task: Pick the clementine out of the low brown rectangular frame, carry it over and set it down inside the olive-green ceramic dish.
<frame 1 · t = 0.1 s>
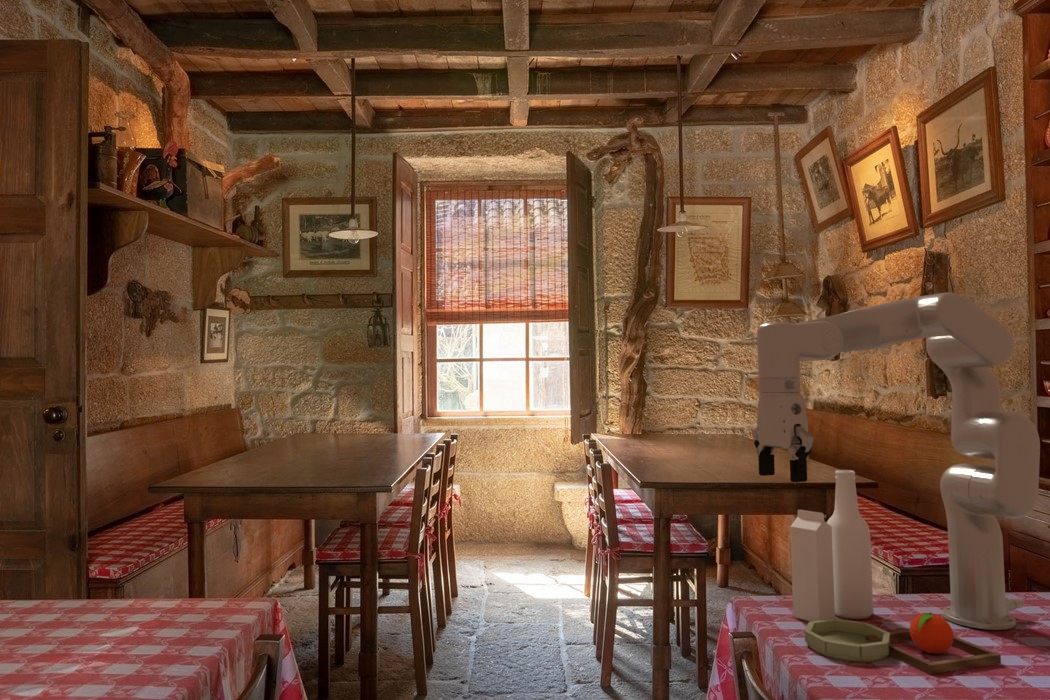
hand: (782, 478, 136), 31 cm above the table, tool pointing down, fingers open, 9 cm apart
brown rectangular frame: (930, 653, 130), on the table
alcohol: (850, 614, 152), on the table
clementine: (930, 654, 130), resting in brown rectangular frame
milk: (814, 618, 150), on the table
dish: (847, 647, 133), on the table
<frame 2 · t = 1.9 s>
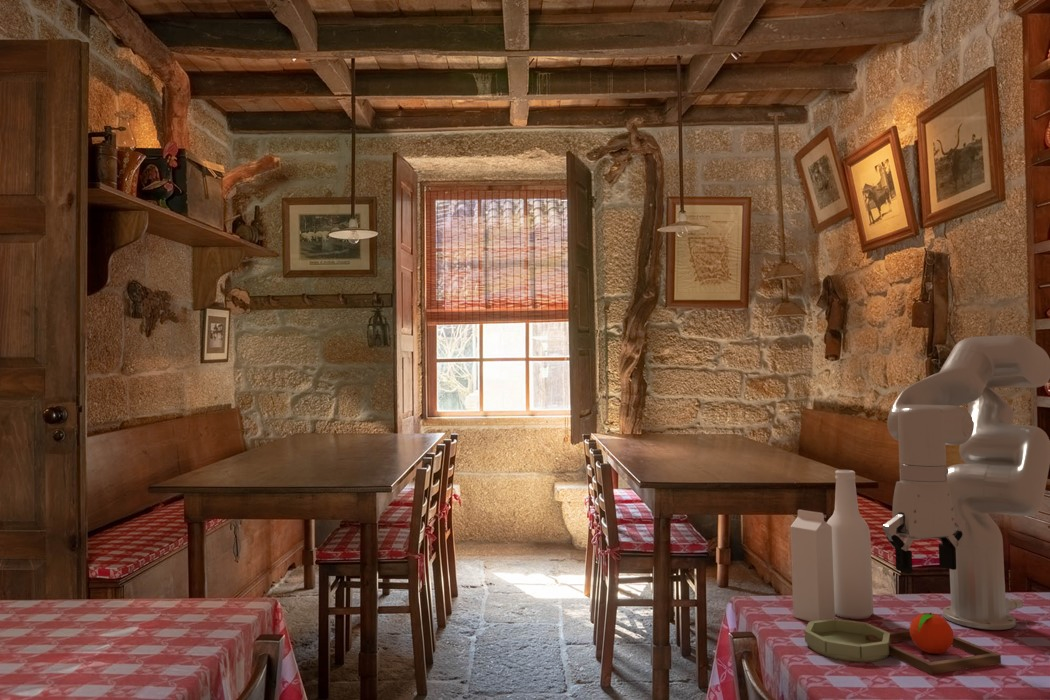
hand: (926, 569, 130), 15 cm above the table, tool pointing down, fingers open, 9 cm apart
nothing on the table moved.
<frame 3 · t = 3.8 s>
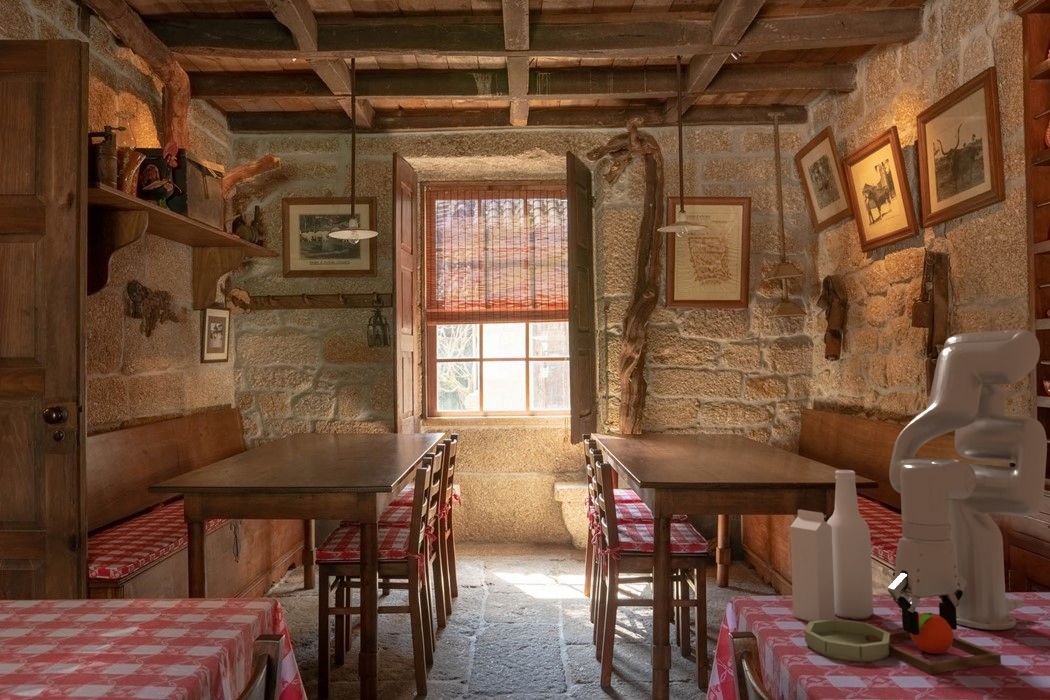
hand: (929, 629, 130), 4 cm above the table, tool pointing down, fingers closed on clementine, 7 cm apart
clementine: (930, 654, 129), resting in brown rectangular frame, touching gripper
everything else where it was.
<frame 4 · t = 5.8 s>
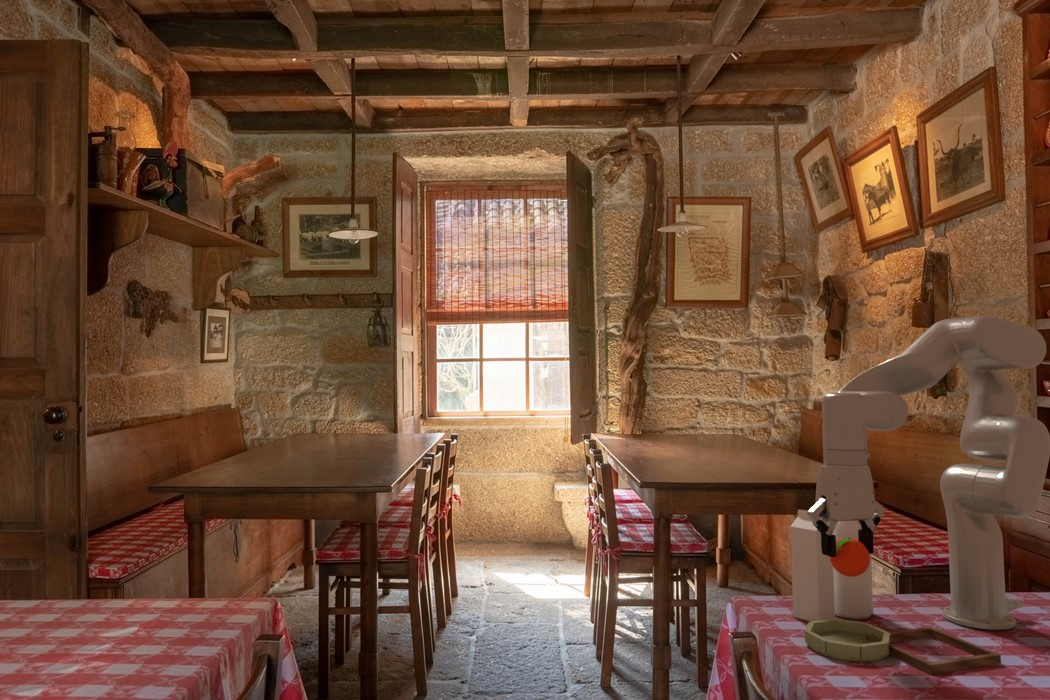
hand: (847, 553, 133), 17 cm above the table, tool pointing down, fingers closed on clementine, 7 cm apart
clementine: (848, 577, 133), point 13 cm above the table, touching gripper
everything else where it was.
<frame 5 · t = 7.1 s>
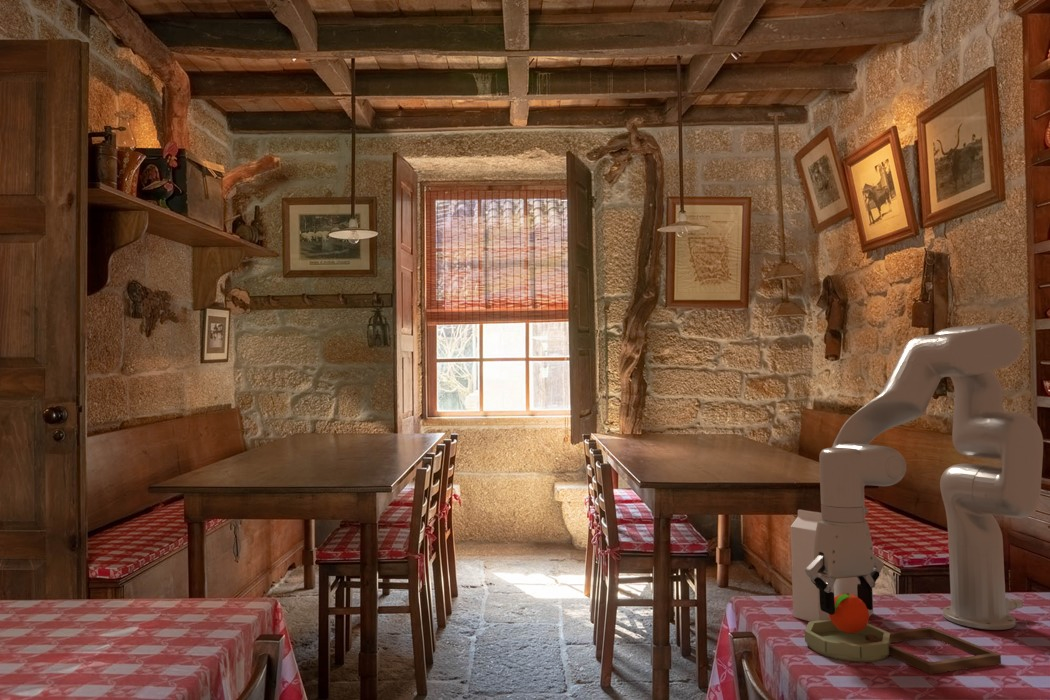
hand: (846, 609, 133), 7 cm above the table, tool pointing down, fingers closed on clementine, 7 cm apart
clementine: (847, 633, 133), point 2 cm above the table, touching gripper
everything else where it was.
when the fingers open (7 cm above the table, at t = 8.0 s): clementine drops 2 cm, resting on dish.
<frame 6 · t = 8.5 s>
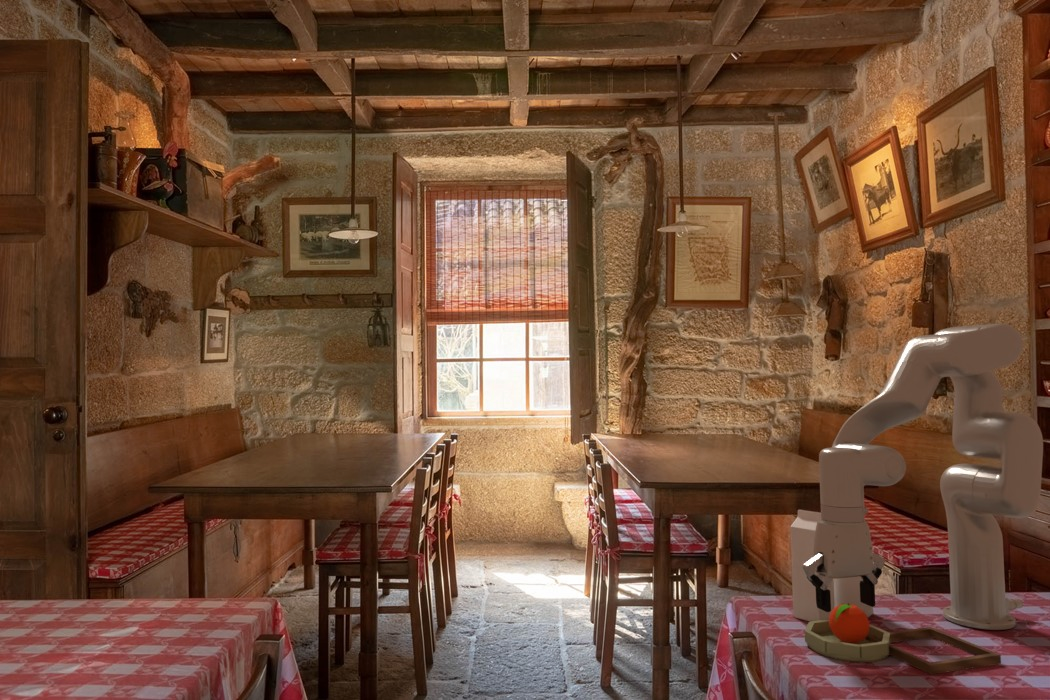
hand: (846, 607, 133), 7 cm above the table, tool pointing down, fingers open, 9 cm apart
clementine: (848, 644, 133), point 1 cm above the table, touching dish
everything else where it was.
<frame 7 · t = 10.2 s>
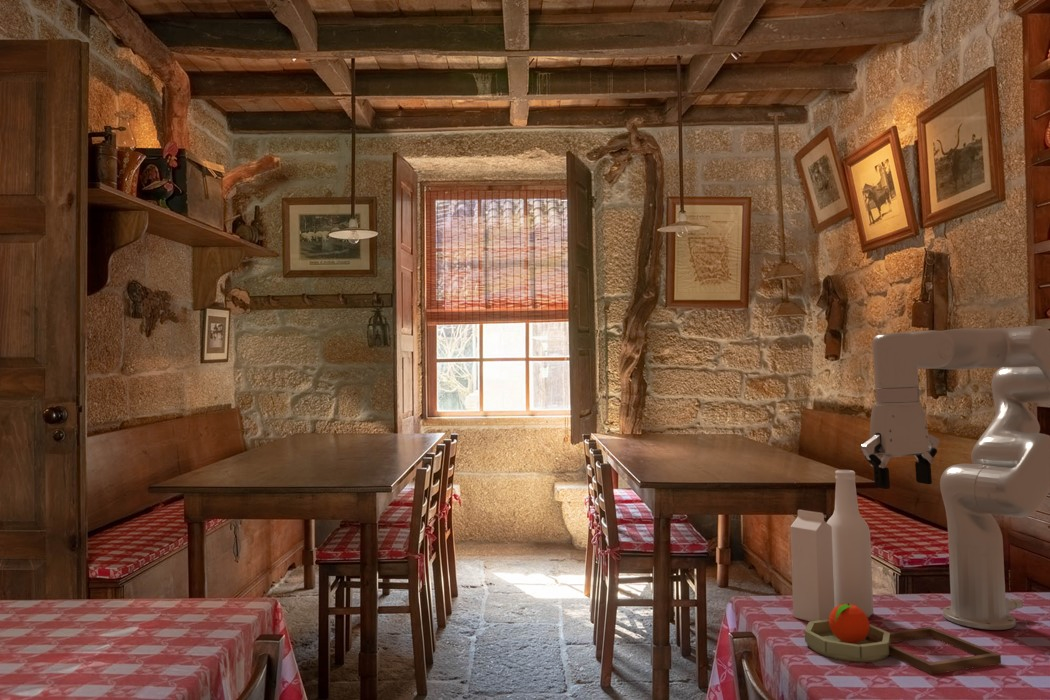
hand: (903, 485, 138), 29 cm above the table, tool pointing down, fingers open, 9 cm apart
nothing on the table moved.
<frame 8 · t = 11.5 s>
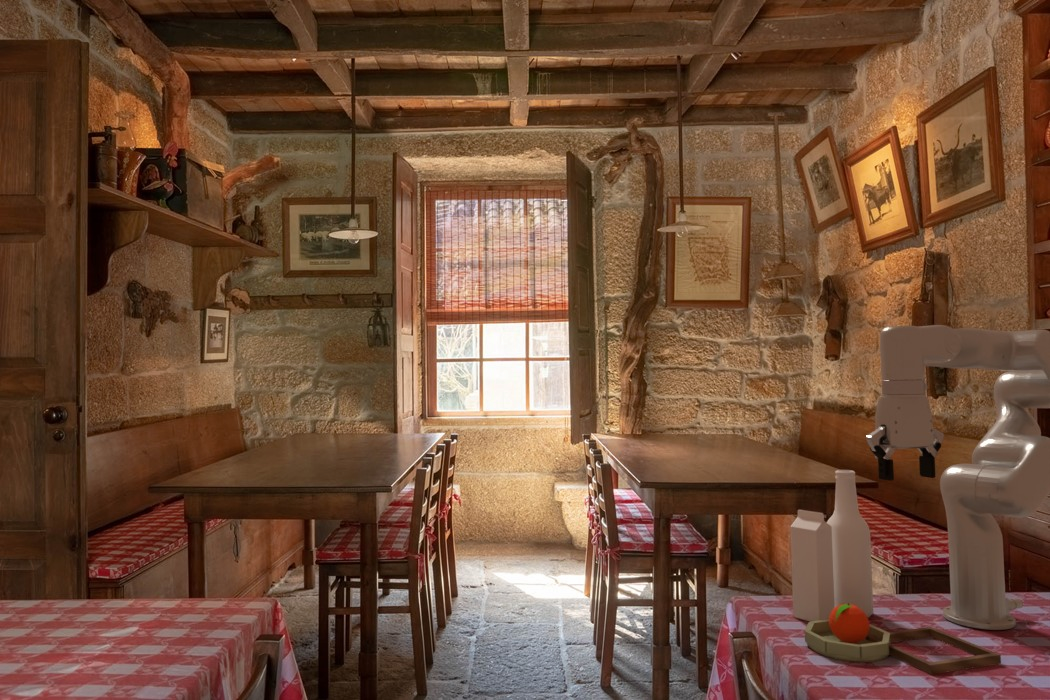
hand: (907, 478, 138), 30 cm above the table, tool pointing down, fingers open, 9 cm apart
nothing on the table moved.
at the end: clementine 0.1 cm from the dish (horizontally); clementine touching dish; the gripper is holding nothing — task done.
